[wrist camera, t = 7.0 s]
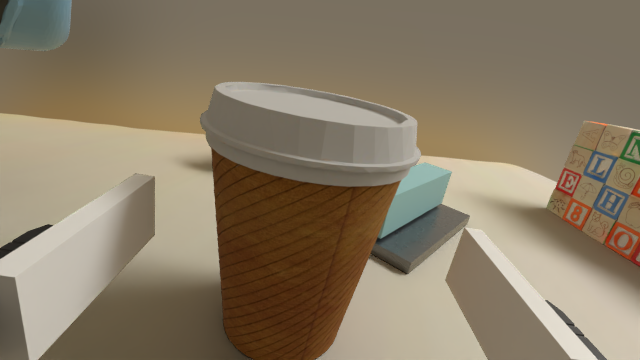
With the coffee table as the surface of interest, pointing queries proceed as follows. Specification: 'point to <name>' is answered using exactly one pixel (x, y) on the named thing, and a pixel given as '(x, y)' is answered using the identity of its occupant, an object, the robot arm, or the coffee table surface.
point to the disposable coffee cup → (298, 208)
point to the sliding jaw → (416, 196)
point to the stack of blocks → (603, 187)
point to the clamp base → (419, 237)
